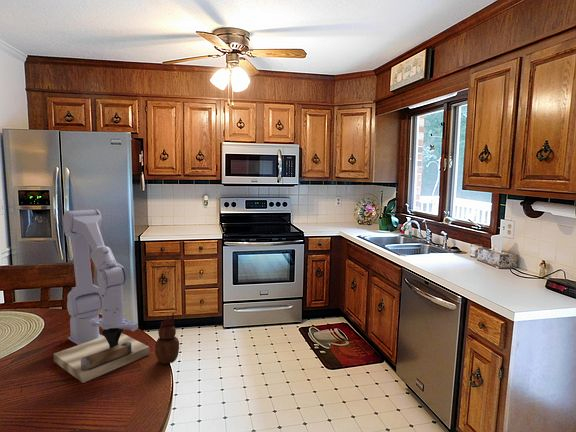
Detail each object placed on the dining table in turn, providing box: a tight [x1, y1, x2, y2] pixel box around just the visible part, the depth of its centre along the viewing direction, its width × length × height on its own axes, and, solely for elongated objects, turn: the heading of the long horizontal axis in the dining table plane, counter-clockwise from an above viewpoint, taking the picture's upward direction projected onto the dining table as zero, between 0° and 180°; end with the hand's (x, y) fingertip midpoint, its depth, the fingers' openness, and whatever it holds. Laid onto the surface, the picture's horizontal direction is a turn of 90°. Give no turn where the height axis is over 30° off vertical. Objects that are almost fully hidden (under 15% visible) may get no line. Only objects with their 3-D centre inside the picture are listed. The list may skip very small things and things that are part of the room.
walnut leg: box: [81, 342, 132, 370], centre depth 106 cm, size 14×3×2 cm, turn 141°
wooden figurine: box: [154, 312, 180, 365], centre depth 110 cm, size 7×6×15 cm
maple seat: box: [53, 332, 150, 384], centre depth 112 cm, size 18×20×3 cm
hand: (114, 351), depth 110 cm, fingers closed
